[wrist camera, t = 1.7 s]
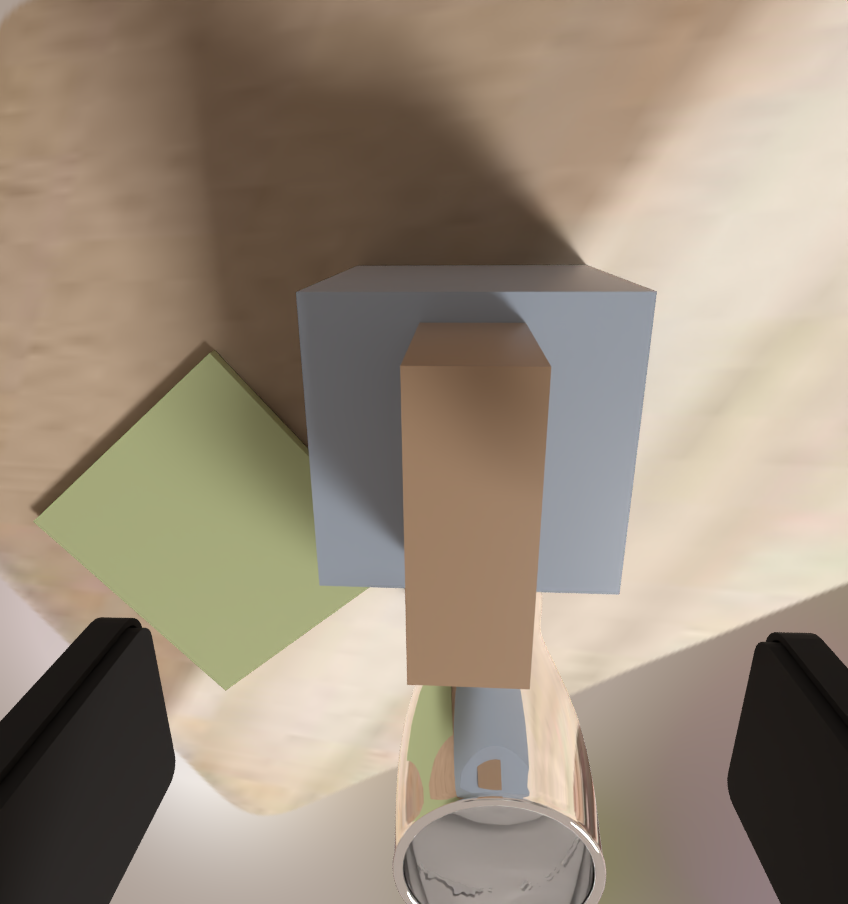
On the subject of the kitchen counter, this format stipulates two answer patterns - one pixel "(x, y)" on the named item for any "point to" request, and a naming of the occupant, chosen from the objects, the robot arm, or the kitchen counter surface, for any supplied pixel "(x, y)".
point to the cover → (473, 446)
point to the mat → (205, 525)
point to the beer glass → (497, 795)
